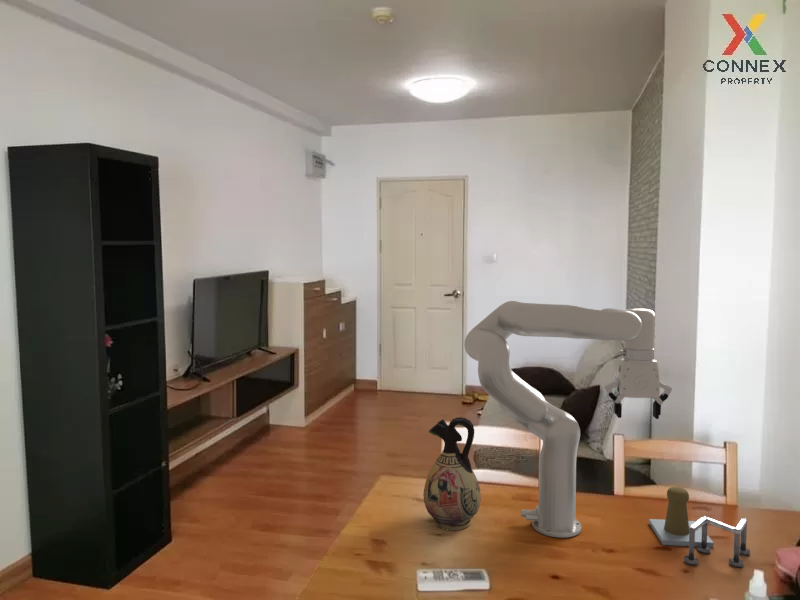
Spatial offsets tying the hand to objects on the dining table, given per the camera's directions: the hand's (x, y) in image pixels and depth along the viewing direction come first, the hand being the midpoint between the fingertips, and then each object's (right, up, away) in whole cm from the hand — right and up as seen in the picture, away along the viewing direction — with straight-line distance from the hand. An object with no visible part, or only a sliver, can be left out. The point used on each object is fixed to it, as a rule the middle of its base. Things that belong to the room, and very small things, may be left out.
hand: (637, 417), depth 163 cm
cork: (+7, -28, -8) cm, 30 cm away
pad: (+8, -29, -8) cm, 31 cm away
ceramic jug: (-50, -29, -1) cm, 57 cm away
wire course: (+12, -30, -19) cm, 37 cm away
